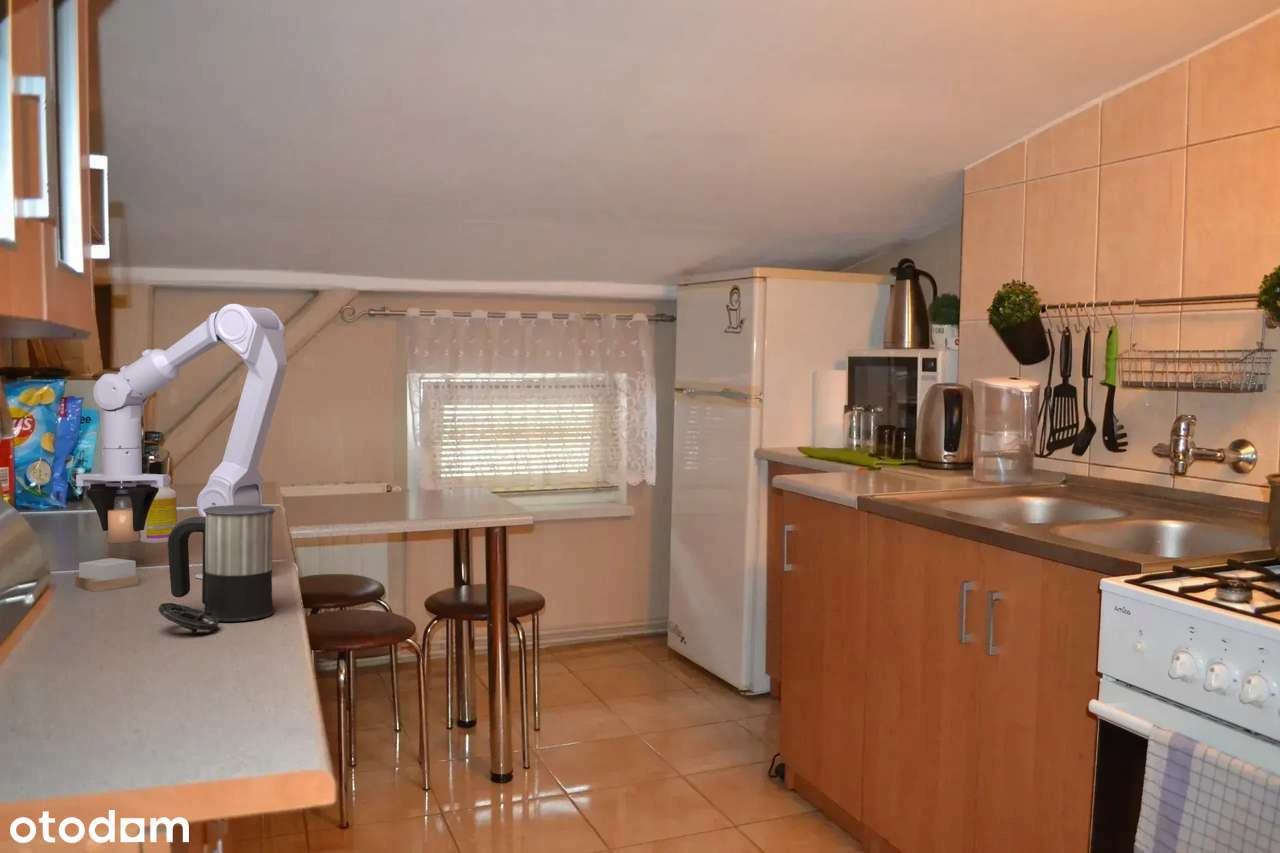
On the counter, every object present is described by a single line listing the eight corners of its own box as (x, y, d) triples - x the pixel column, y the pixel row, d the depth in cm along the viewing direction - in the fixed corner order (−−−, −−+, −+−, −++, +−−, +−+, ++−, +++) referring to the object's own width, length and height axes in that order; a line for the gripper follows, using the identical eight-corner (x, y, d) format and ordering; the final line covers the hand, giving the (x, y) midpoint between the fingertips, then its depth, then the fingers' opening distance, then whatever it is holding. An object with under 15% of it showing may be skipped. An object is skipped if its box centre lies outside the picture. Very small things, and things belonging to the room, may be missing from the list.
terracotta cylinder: (144, 540, 170) (144, 510, 169) (116, 543, 166) (116, 512, 166) (130, 537, 172) (130, 507, 172) (102, 540, 169) (102, 510, 168)
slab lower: (138, 589, 159) (138, 575, 159) (95, 596, 154) (94, 581, 154) (117, 584, 163) (117, 570, 163) (74, 590, 158) (74, 576, 158)
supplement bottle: (184, 541, 203) (183, 476, 202) (152, 545, 197) (152, 478, 196) (163, 538, 206) (163, 474, 206) (132, 542, 201) (131, 476, 200)
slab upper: (135, 574, 160) (135, 560, 160) (104, 580, 155) (103, 566, 155) (111, 571, 162) (111, 557, 162) (79, 577, 157) (79, 563, 157)
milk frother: (275, 606, 147) (274, 502, 146) (277, 631, 132) (277, 517, 131) (165, 613, 142) (164, 505, 141) (155, 640, 127) (154, 521, 126)
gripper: (177, 446, 172) (178, 527, 173) (92, 446, 173) (94, 526, 173) (156, 449, 165) (157, 533, 166) (67, 448, 166) (69, 532, 166)
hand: (123, 530), depth 169 cm, fingers closed on terracotta cylinder, 5 cm apart
